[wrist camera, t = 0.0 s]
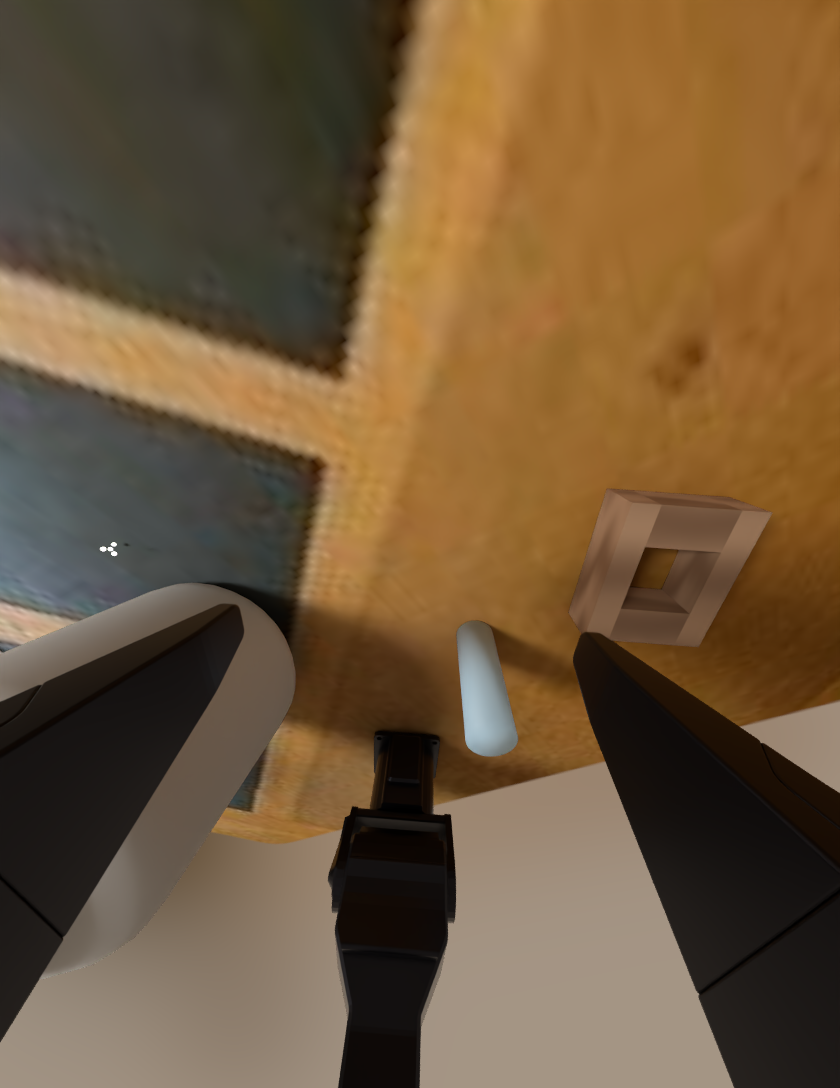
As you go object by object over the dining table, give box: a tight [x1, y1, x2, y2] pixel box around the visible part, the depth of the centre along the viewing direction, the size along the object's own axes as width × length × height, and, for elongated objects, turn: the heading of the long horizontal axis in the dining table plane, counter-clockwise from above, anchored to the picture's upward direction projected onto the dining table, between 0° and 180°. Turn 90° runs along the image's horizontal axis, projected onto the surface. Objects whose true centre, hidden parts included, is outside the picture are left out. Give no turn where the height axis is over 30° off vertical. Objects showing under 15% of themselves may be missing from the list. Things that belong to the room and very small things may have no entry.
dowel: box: [456, 621, 518, 756], centre depth 23 cm, size 3×3×9 cm
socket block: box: [568, 489, 772, 647], centre depth 22 cm, size 10×8×3 cm
